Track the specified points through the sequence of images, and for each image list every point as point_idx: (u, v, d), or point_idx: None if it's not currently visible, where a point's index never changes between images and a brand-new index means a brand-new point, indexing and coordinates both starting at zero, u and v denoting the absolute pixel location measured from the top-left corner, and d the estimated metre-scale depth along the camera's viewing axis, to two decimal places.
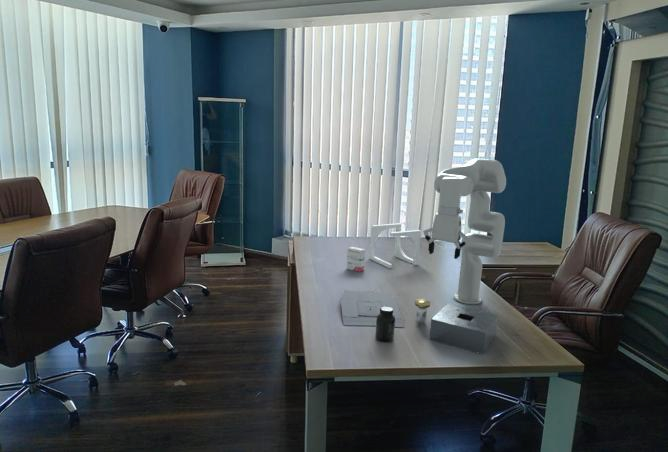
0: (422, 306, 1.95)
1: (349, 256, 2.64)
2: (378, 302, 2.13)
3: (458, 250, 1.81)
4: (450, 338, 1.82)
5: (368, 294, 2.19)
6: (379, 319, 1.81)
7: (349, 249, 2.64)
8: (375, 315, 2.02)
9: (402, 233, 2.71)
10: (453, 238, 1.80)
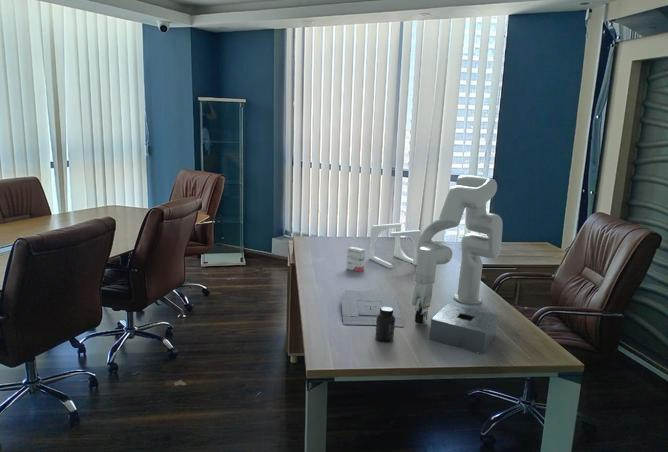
0: None
1: (349, 256, 2.64)
2: (378, 302, 2.13)
3: None
4: (450, 338, 1.82)
5: (368, 294, 2.20)
6: (379, 319, 1.81)
7: (349, 249, 2.64)
8: (375, 314, 2.03)
9: (402, 233, 2.71)
10: (430, 298, 2.00)
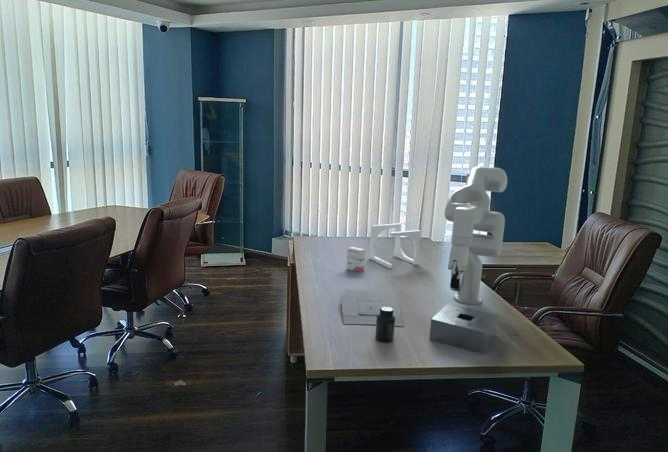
0: None
1: (349, 256, 2.64)
2: (378, 301, 2.14)
3: None
4: (450, 338, 1.82)
5: (369, 293, 2.20)
6: (379, 319, 1.81)
7: (349, 249, 2.64)
8: (375, 314, 2.03)
9: (402, 233, 2.71)
10: (467, 263, 1.88)
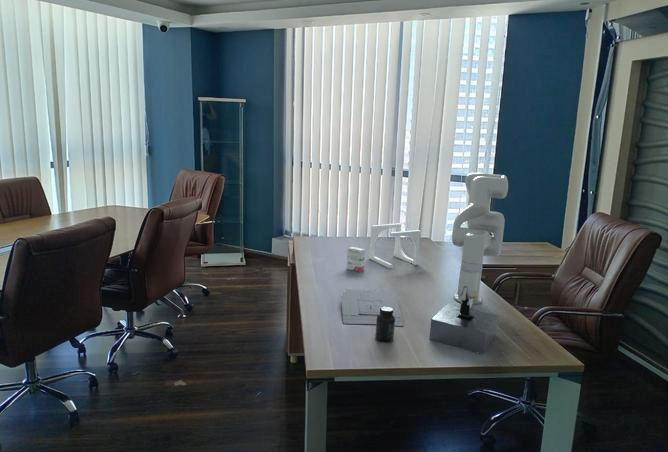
0: None
1: (349, 256, 2.64)
2: (379, 301, 2.14)
3: None
4: (450, 338, 1.82)
5: (369, 293, 2.20)
6: (379, 319, 1.81)
7: (349, 249, 2.64)
8: (375, 314, 2.03)
9: (402, 233, 2.71)
10: (476, 288, 1.88)
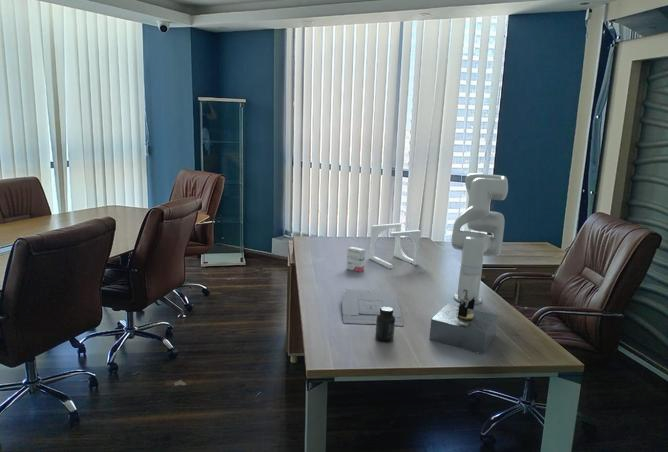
0: (466, 318, 1.85)
1: (349, 256, 2.64)
2: (379, 301, 2.14)
3: None
4: (450, 338, 1.82)
5: (369, 293, 2.21)
6: (379, 319, 1.81)
7: (349, 249, 2.64)
8: (375, 314, 2.04)
9: (402, 233, 2.71)
10: (476, 291, 1.88)
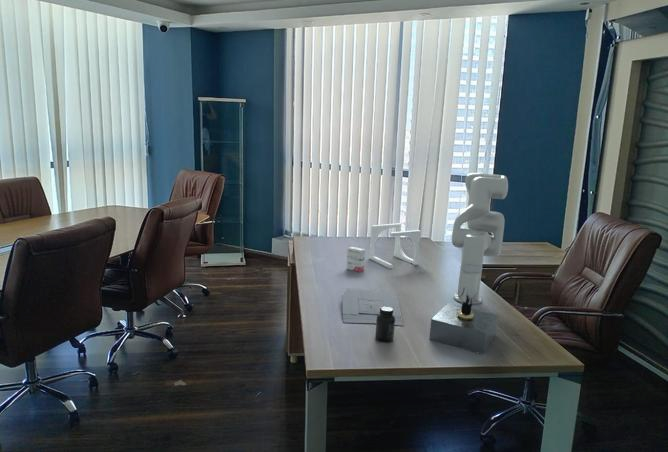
0: (466, 318, 1.85)
1: (349, 256, 2.64)
2: (379, 300, 2.15)
3: None
4: (450, 338, 1.82)
5: (370, 292, 2.21)
6: (379, 319, 1.81)
7: (349, 249, 2.64)
8: (375, 313, 2.04)
9: (402, 233, 2.71)
10: (476, 289, 1.88)
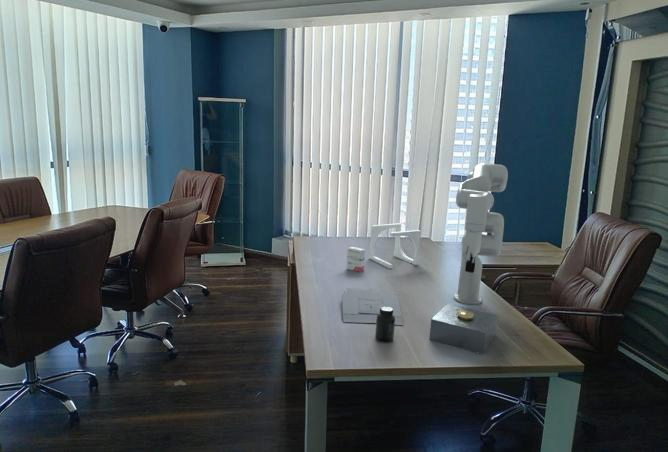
0: (466, 318, 1.85)
1: (349, 256, 2.64)
2: (379, 300, 2.15)
3: None
4: (450, 338, 1.82)
5: (370, 292, 2.21)
6: (379, 319, 1.81)
7: (349, 249, 2.64)
8: (375, 313, 2.04)
9: (402, 233, 2.71)
10: (480, 248, 1.94)
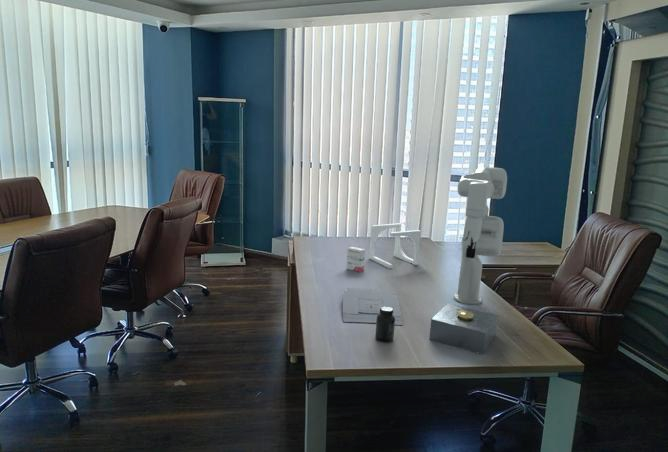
0: (466, 318, 1.85)
1: (349, 256, 2.64)
2: (379, 300, 2.15)
3: None
4: (450, 338, 1.82)
5: (370, 292, 2.22)
6: (379, 319, 1.81)
7: (349, 249, 2.64)
8: (375, 313, 2.05)
9: (402, 233, 2.71)
10: (480, 235, 2.01)
